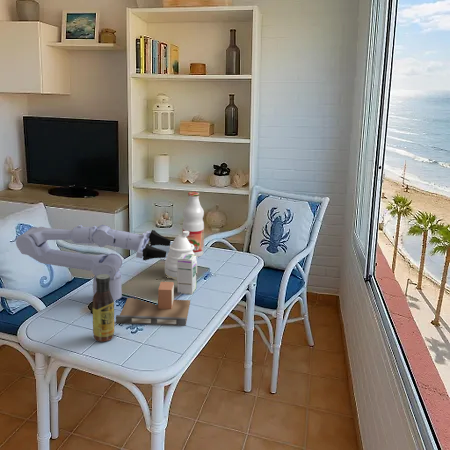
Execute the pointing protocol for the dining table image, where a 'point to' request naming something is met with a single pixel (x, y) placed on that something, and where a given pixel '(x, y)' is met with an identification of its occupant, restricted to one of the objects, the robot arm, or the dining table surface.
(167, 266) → the honey pot
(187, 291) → the syrup box
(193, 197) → the fruit juice
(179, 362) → the dining table surface
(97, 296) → the sauce bottle
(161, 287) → the tea tin
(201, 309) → the dining table surface
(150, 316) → the brown wooden pallet
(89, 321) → the dining table surface
